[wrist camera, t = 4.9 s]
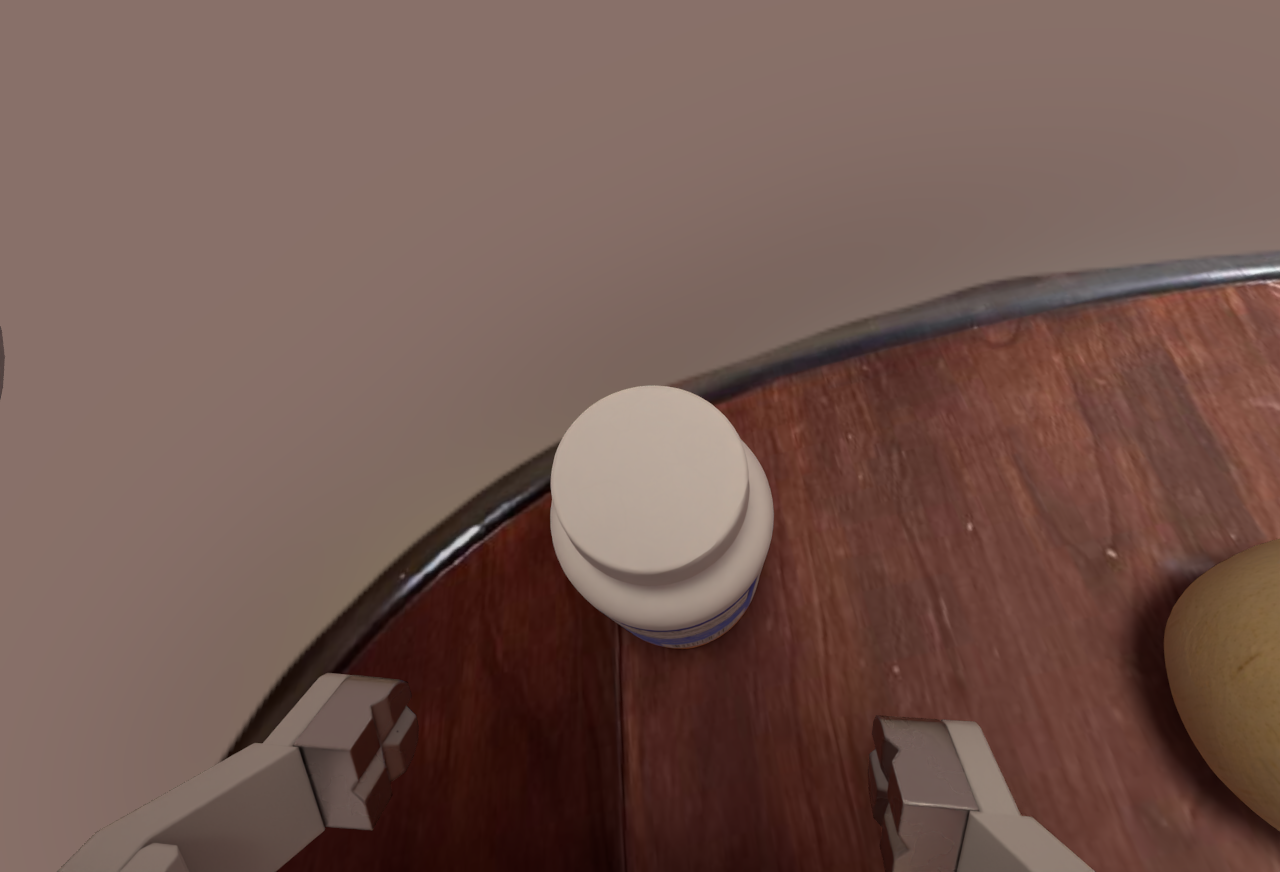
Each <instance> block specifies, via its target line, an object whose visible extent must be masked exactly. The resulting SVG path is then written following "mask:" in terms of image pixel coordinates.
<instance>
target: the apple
mask: <svg viewBox="0 0 1280 872" xmlns="http://www.w3.org/2000/svg"><path fill="white" fill-rule="evenodd" d="M1164 657H1165V666H1166V670H1167V676H1168V681H1169V685H1170V689H1171V693H1172V696H1173V699H1174V703H1175V705H1176V708H1177V710H1178V713H1179V715H1180V717H1181V720H1182V722H1183V724H1184V726H1185V728H1186V730H1187V732H1188V734H1189V736H1190V738H1191V740H1192V741H1193V743H1194V745H1195V746H1196V748H1197V749H1198V751H1199V752H1200V754H1201V755H1202V757H1203V758H1204V760H1205V761H1206V763H1207V764H1208V765H1209V767H1210V768H1211V769H1212V771H1213V772H1214V773H1215V774H1216V775H1217V777H1218V778H1219V779H1220V780H1221V781H1222V782H1223V783H1224V784H1225V785H1226V786H1227V787H1228V788H1229V789H1230V790H1231V791H1232V792H1233V793H1234V794H1235V795H1236V796H1237V797H1238V798H1239V799H1240V800H1241V801H1242V802H1243V803H1244V804H1246V805H1247V806H1248V807H1249V808H1250V809H1251V810H1252V811H1254V812H1255V813H1256V814H1257V815H1259V816H1260V817H1261V818H1262V819H1264V820H1265V821H1266V822H1267V823H1269V824H1270V825H1271V826H1273V827H1274V828H1276V829H1277V830H1278V831H1280V539H1277V540H1273V541H1269V542H1267V543H1263V544H1260V545H1257V546H1254V547H1252V548H1250V549H1247V550H1245V551H1243V552H1241V553H1239V554H1236V555H1234V556H1232V557H1230V558H1228V559H1226V560H1225V561H1223V562H1221V563H1219V564H1218V565H1216V566H1214V567H1212V568H1211V569H1209V570H1208V571H1207V572H1205V573H1204V574H1202V575H1201V576H1200V577H1198V578H1197V579H1196V580H1195V581H1194V582H1193V583H1191V584H1190V586H1189V587H1188V588H1187V589H1186V590H1185V591H1184V592H1183V594H1182V595H1181V596H1180V598H1179V599H1178V601H1177V602H1176V604H1175V605H1174V607H1173V608H1172V611H1171V614H1170V616H1169V618H1168V620H1167V624H1166V628H1165V634H1164Z"/></svg>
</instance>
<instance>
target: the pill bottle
mask: <svg viewBox="0 0 1280 872" xmlns="http://www.w3.org/2000/svg"><path fill="white" fill-rule="evenodd" d="M551 494H552V505H551V514H550V523H551V533H552V540H553V545H554V549H555V552H556V555H557V557H558V560H559V562H560V564H561V567H562V569H563V570H564V572H565V574H566V576H567V577H568V579H569V580H570V582H571V583H572V584H573V585H574V587H575V588H576V589H577V590H578V591H579V593H580V594H581V595H582V596H583V597H584V598H585V599H586V600H587V601H588V602H589V603H591V604H592V605H593V606H594V607H595V608H597V609H598V610H599V611H600V612H602V613H603V614H605V615H606V616H607V617H609V618H610V619H612V620H613V621H615V622H616V623H618V624H619V625H620V626H622V627H623V628H625V629H626V630H628V631H629V632H631V633H632V634H633V635H635V636H637V637H638V638H640V639H642V640H644V641H646V642H649V643H651V644H654V645H657V646H661V647H667V648H679V649H689V648H694V647H698V646H701V645H704V644H706V643H709V642H711V641H713V640H715V639H717V638H719V637H720V636H722V635H723V634H725V633H726V632H727V631H729V630H730V629H731V628H732V627H733V626H734V625H735V624H736V623H737V622H738V621H739V620H740V618H741V617H742V616H743V615H744V613H745V611H746V610H747V608H748V607H749V605H750V603H751V601H752V599H753V596H754V593H755V591H756V587H757V584H758V581H759V577H760V573H761V570H762V567H763V564H764V561H765V559H766V556H767V553H768V550H769V546H770V542H771V538H772V532H773V522H774V511H773V500H772V495H771V490H770V487H769V484H768V480H767V478H766V475H765V473H764V471H763V469H762V467H761V465H760V463H759V461H758V460H757V458H756V457H755V455H754V454H753V453H752V451H751V450H750V449H749V448H748V446H747V445H746V444H745V443H744V442H743V441H742V440H741V439H740V438H739V435H738V433H737V432H736V430H735V429H734V427H733V426H732V424H731V423H730V422H729V421H728V419H727V418H726V417H725V416H724V415H723V414H722V413H721V412H720V411H719V410H718V409H717V408H715V407H714V406H713V405H712V404H711V403H709V402H707V401H706V400H704V399H703V398H701V397H699V396H697V395H695V394H693V393H690V392H687V391H684V390H681V389H677V388H672V387H668V386H639V387H634V388H629V389H625V390H622V391H619V392H616V393H614V394H611V395H609V396H607V397H605V398H603V399H601V400H599V401H598V402H596V403H594V404H593V405H592V406H590V407H589V408H588V409H586V410H585V411H584V412H583V413H582V414H581V415H580V416H579V417H578V418H577V419H576V420H575V421H574V422H573V423H572V425H571V426H570V427H569V429H568V430H567V431H566V433H565V435H564V436H563V438H562V440H561V442H560V444H559V446H558V449H557V451H556V454H555V458H554V462H553V466H552V472H551Z"/></svg>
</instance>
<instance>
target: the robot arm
mask: <svg viewBox="0 0 1280 872" xmlns="http://www.w3.org/2000/svg"><path fill="white" fill-rule="evenodd" d="M411 697H412V695H411V691H410V688H409V684H408V682H406V681H403V680H398V679H389V678H379V677H369V676H360V675H345V674H335V673H327V674H325V675H323V676H321V677H319V678H318V679H317V680H316V681H315V683H314V684H313V685H312V686H311V687H310V689H309V690H308V691H307V692H306V693H305V694H304V696H303V697H302V698H301V699H300V700H299V701H298V703H297V704H296V705H295V706H294V707H293V708H292V710H291V711H290V712H289V713H288V714H287V715H286V717H285V718H284V719H283V720H282V721H281V722H280V724H279V725H278V726H277V727H276V728H275V729H274V731H273V732H272V733H271V734H270V735H269V736H268V738H267V739H266V740H265V741H264V742H263V743H254V744H252V745H250V746H248V747H246V748H245V749H243V750H241V751H239V752H238V753H236V754H234V755H232V756H230V757H229V758H227V759H225V760H223V761H222V762H220V763H218V764H216V765H215V766H213V767H211V768H209V769H208V770H206V771H204V772H202V773H200V774H199V775H197V776H195V777H193V778H192V779H190V780H188V781H186V782H184V783H183V784H181V785H179V786H177V787H176V788H174V789H172V790H170V791H169V792H167V793H165V794H163V795H161V796H160V797H158V798H156V799H154V800H153V801H151V802H149V803H147V804H145V805H144V806H142V807H140V808H138V809H137V810H135V811H133V812H131V813H129V814H128V815H126V816H124V817H122V818H121V819H119V820H117V821H115V822H113V823H112V824H110V825H109V826H107V827H105V828H103V829H101V830H99V831H97V832H96V833H95V834H94V835H93V836H92V837H91V838H90V839H89V840H88V841H87V842H86V843H85V844H84V845H83V846H82V847H81V848H80V849H79V850H78V851H77V852H76V853H75V854H74V855H73V856H72V857H71V858H70V859H69V860H68V861H67V862H66V863H65V864H64V865H63V866H62V867H61V868H60V869H59V870H58V871H57V872H276V871H277V870H278V869H279V868H281V867H282V866H283V865H284V864H285V863H287V862H288V861H289V860H290V859H291V858H292V857H294V856H295V855H296V854H297V853H298V852H300V851H301V850H302V849H303V848H304V847H305V846H307V845H308V844H309V843H310V842H311V841H313V840H314V839H315V838H316V837H317V836H318V835H320V834H321V833H322V832H323V831H324V830H325V827H334V828H346V829H359V830H371V831H372V830H373V828H374V827H375V825H376V823H377V821H378V820H379V818H380V816H381V814H382V812H383V811H384V809H385V807H386V805H387V804H388V802H389V800H390V798H391V797H392V795H393V794H392V788H391V782H392V781H393V780H395V779H396V778H398V777H399V776H400V775H402V774H403V773H405V772H406V770H407V768H408V766H409V764H410V763H411V761H412V759H413V757H414V753H415V749H416V746H417V742H418V728H419V726H418V721H417V717H416V715H415V714H414V713H413V712H412V711H411V710H410V709H409V708H408V707H407V706H406V705H407V704H408V702H409V700H410V699H411ZM872 735H873V739H874V744H875V748H876V749H875V750H873V751H872V752H871V753H870V754H869V764H868V789H869V796H870V803H871V808H872V813H873V817H874V819H875V820H876V821H877V822H878V823H879V825H880V826H881V827H882V833H881V840H880V849H881V854H882V858H883V863H884V867H885V871H886V872H1095V871H1094V870H1093V869H1092V868H1091V867H1089V866H1088V865H1087V864H1086V863H1085V862H1084V861H1082V860H1081V859H1080V858H1079V857H1078V856H1077V855H1075V854H1074V853H1073V852H1072V851H1071V850H1070V849H1069V848H1067V847H1066V846H1065V845H1064V844H1063V843H1062V842H1060V841H1059V840H1058V839H1057V838H1056V837H1055V836H1053V835H1052V834H1051V833H1050V832H1049V831H1048V830H1047V829H1045V828H1044V827H1043V826H1042V825H1041V824H1040V823H1038V822H1037V821H1036V820H1035V819H1034V818H1033V817H1027V816H1021V814H1020V812H1019V810H1018V808H1017V806H1016V803H1015V801H1014V799H1013V797H1012V795H1011V792H1010V790H1009V788H1008V786H1007V784H1006V782H1005V779H1004V777H1003V775H1002V773H1001V771H1000V769H999V766H998V764H997V762H996V760H995V758H994V756H993V753H992V751H991V749H990V747H989V745H988V743H987V740H986V738H985V736H984V734H983V732H982V730H981V727H980V726H979V725H978V724H977V723H976V722H971V721H956V720H941V721H940V720H938V719H924V718H909V717H894V716H878V715H876V717H875V720H874V723H873V730H872Z"/></svg>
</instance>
